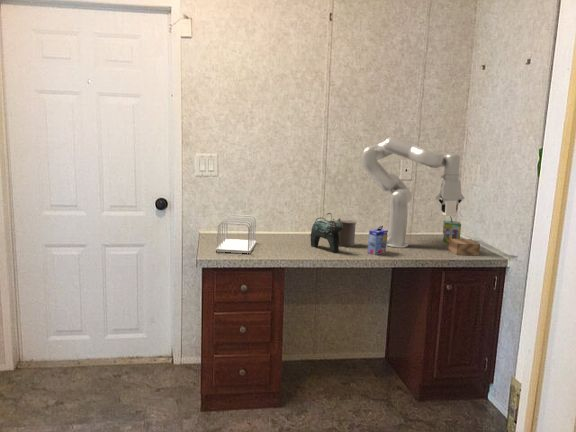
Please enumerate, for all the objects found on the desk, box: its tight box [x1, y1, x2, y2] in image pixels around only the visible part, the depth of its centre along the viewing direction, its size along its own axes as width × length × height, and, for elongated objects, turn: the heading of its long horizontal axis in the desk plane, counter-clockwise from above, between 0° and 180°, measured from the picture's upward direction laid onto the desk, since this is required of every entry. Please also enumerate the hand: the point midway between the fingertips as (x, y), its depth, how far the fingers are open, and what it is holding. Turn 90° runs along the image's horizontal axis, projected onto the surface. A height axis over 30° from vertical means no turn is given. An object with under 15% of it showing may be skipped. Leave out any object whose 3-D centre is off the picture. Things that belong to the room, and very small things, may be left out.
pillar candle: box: [338, 219, 356, 248], centre depth 277 cm, size 10×10×15 cm
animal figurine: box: [310, 212, 343, 254], centre depth 265 cm, size 20×6×20 cm, turn 41°
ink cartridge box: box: [367, 225, 389, 256], centre depth 262 cm, size 10×6×14 cm, turn 136°
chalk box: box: [441, 216, 462, 243], centre depth 296 cm, size 9×9×15 cm
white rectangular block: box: [441, 199, 457, 217], centre depth 266 cm, size 6×6×9 cm
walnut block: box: [448, 238, 481, 256], centre depth 270 cm, size 12×12×6 cm
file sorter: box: [215, 214, 257, 255], centre depth 264 cm, size 25×17×16 cm
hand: (449, 211), depth 267 cm, fingers closed on white rectangular block, 5 cm apart
